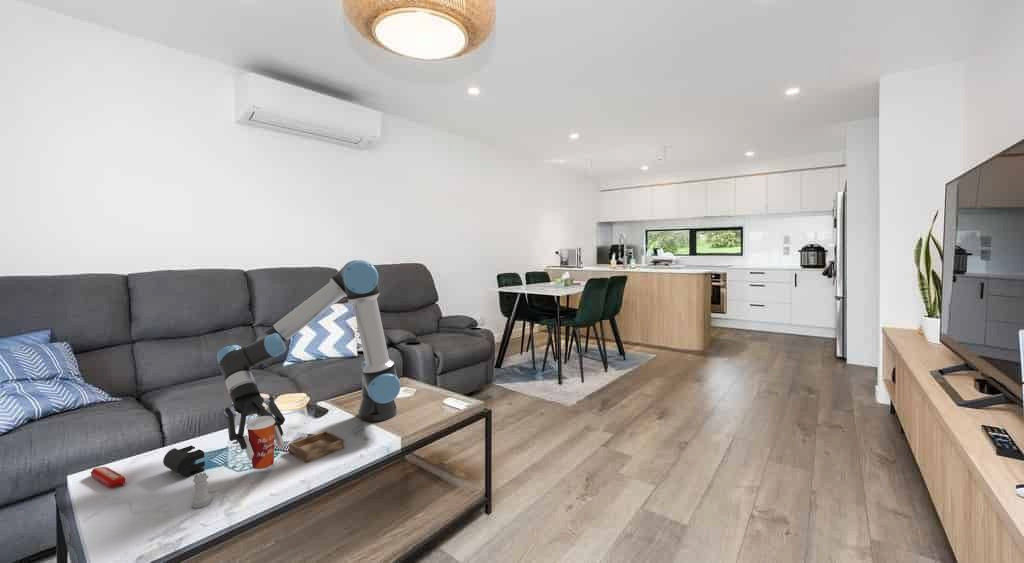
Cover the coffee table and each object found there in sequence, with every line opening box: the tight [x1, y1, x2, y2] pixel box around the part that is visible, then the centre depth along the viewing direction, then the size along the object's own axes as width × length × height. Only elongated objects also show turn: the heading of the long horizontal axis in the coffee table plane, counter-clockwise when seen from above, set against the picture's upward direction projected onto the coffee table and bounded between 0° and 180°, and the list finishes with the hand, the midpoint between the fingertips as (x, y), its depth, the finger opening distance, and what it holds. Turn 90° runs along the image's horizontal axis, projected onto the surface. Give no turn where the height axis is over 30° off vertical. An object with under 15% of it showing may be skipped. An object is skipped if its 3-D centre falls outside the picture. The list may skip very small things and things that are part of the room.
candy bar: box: [90, 466, 127, 488], centre depth 122 cm, size 16×4×3 cm, turn 62°
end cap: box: [162, 445, 206, 478], centre depth 126 cm, size 10×7×7 cm
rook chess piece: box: [190, 472, 213, 509], centre depth 110 cm, size 4×4×8 cm
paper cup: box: [245, 415, 275, 470], centre depth 126 cm, size 8×8×14 cm
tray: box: [288, 430, 345, 464], centre depth 140 cm, size 13×12×3 cm
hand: (267, 451), depth 124 cm, fingers closed on paper cup, 8 cm apart
